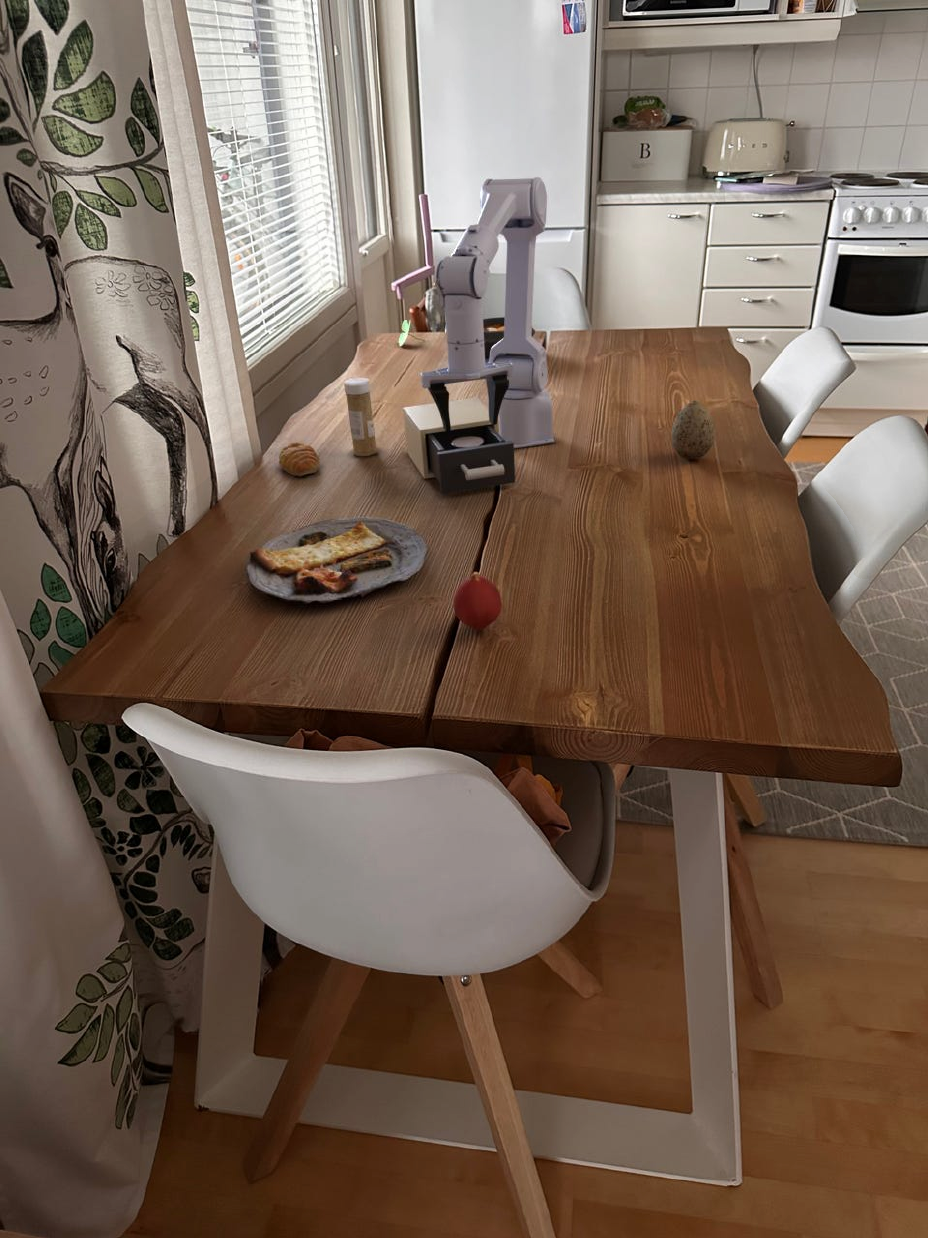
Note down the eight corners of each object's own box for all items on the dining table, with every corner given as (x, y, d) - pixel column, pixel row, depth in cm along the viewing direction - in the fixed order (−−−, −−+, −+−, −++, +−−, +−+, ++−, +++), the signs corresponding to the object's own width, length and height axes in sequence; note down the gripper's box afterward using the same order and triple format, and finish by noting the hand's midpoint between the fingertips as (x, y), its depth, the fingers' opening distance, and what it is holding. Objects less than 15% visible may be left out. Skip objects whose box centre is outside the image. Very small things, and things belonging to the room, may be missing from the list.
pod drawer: (524, 493, 147) (523, 452, 144) (449, 505, 145) (446, 464, 141) (493, 458, 162) (491, 420, 158) (424, 468, 159) (420, 430, 156)
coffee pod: (489, 473, 152) (487, 444, 150) (458, 478, 151) (456, 448, 149) (480, 463, 157) (478, 434, 154) (450, 468, 156) (448, 439, 153)
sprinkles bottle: (381, 453, 170) (374, 380, 164) (360, 459, 168) (351, 385, 161) (370, 446, 174) (361, 375, 167) (348, 452, 172) (339, 380, 165)
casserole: (539, 372, 211) (539, 334, 206) (458, 375, 212) (456, 338, 208) (538, 344, 232) (538, 310, 228) (465, 348, 234) (463, 314, 230)
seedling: (416, 361, 243) (394, 351, 240) (419, 337, 247) (398, 326, 243) (429, 347, 238) (407, 337, 235) (433, 323, 241) (411, 312, 238)
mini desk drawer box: (500, 466, 160) (498, 418, 156) (424, 478, 158) (420, 430, 153) (478, 442, 172) (476, 397, 168) (407, 453, 169) (403, 407, 165)
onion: (453, 620, 116) (449, 562, 112) (499, 615, 116) (497, 558, 112) (457, 644, 110) (453, 585, 106) (505, 639, 111) (502, 580, 107)
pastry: (328, 473, 163) (325, 452, 161) (291, 481, 160) (287, 460, 159) (312, 457, 170) (309, 437, 168) (276, 465, 168) (273, 445, 166)
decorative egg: (661, 460, 158) (664, 403, 153) (684, 448, 163) (687, 392, 158) (698, 468, 154) (703, 410, 149) (720, 456, 158) (725, 398, 154)
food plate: (277, 630, 116) (272, 605, 114) (228, 561, 134) (224, 539, 132) (454, 578, 125) (452, 554, 124) (386, 520, 143) (384, 499, 142)
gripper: (424, 351, 136) (431, 440, 143) (518, 339, 139) (521, 427, 146) (414, 341, 142) (421, 426, 149) (504, 329, 145) (507, 414, 152)
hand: (470, 426), depth 148 cm, fingers open, 7 cm apart
